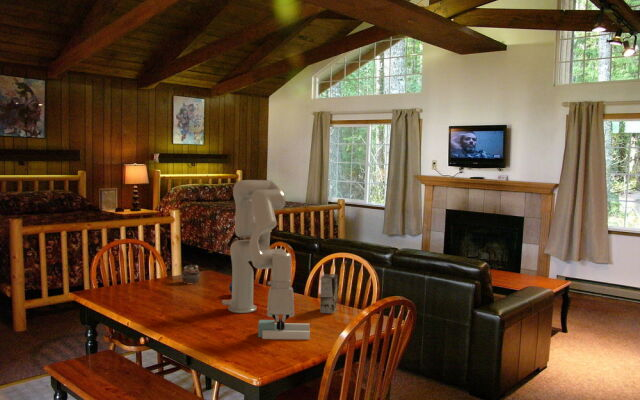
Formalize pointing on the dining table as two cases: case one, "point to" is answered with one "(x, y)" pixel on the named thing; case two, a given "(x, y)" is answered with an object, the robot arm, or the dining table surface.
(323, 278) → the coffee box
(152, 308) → the dining table surface
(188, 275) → the cupcake
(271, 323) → the block
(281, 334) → the trough
